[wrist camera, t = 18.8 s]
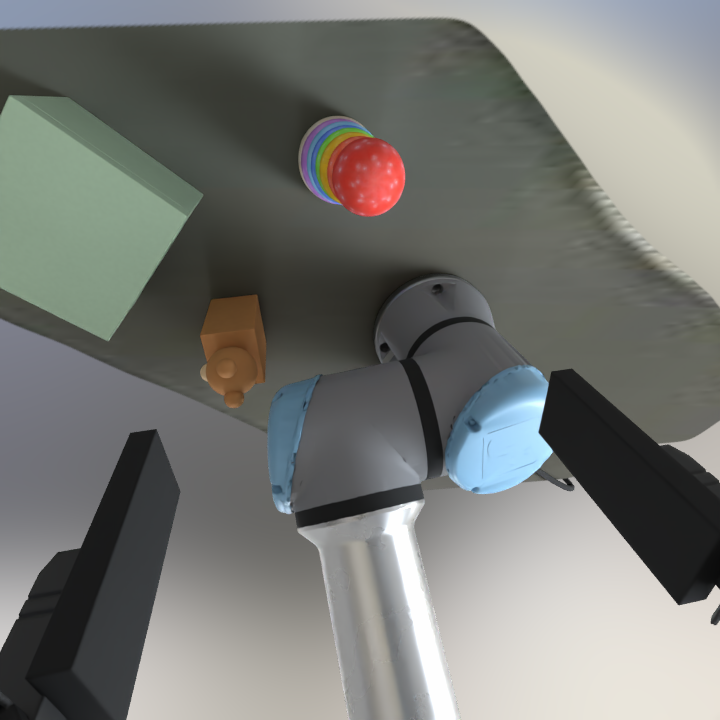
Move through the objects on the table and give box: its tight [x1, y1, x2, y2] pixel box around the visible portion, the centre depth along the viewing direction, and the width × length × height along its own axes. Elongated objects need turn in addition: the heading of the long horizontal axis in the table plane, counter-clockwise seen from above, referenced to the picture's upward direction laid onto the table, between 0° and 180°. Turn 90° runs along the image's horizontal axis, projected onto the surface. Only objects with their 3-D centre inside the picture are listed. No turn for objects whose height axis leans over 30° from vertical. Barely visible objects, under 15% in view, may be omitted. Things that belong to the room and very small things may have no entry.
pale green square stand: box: [0, 95, 204, 341], centre depth 38 cm, size 13×14×10 cm
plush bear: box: [200, 295, 266, 408], centre depth 45 cm, size 6×6×14 cm
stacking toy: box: [298, 116, 405, 216], centre depth 36 cm, size 8×8×19 cm
